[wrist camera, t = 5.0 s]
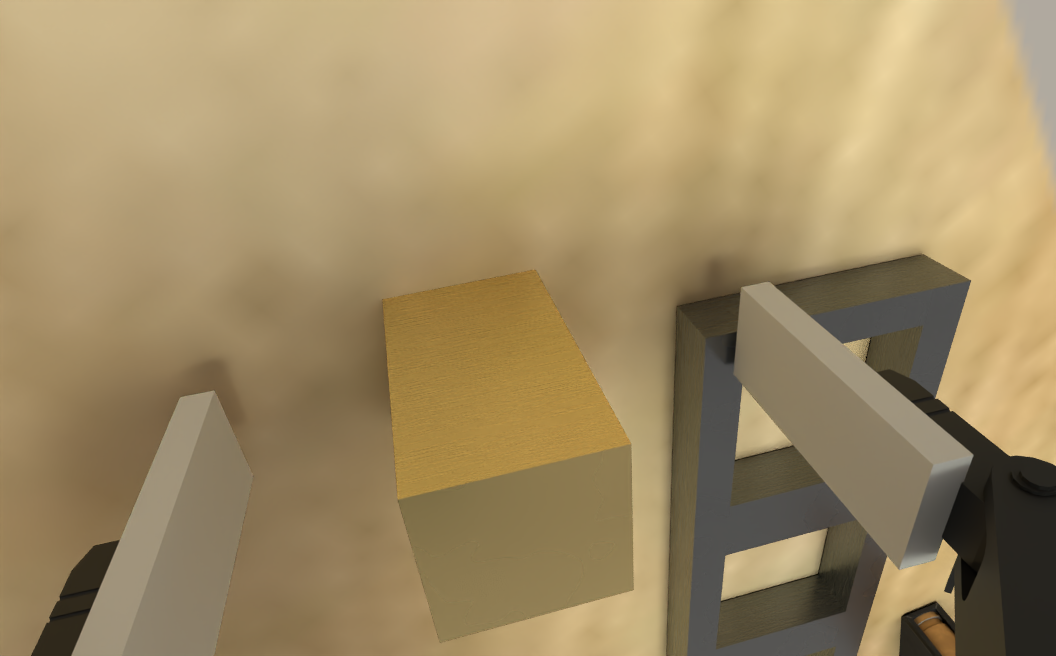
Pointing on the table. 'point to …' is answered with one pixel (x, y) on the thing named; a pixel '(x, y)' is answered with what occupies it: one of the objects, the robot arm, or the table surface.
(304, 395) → the table surface
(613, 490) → the block
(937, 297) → the grey slotted plate
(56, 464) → the table surface
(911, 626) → the ammunition clip
